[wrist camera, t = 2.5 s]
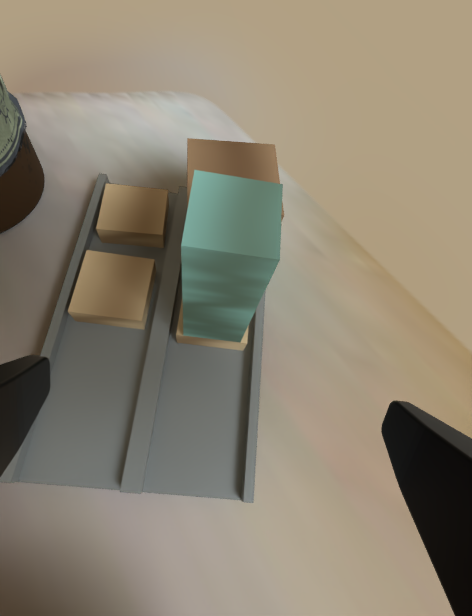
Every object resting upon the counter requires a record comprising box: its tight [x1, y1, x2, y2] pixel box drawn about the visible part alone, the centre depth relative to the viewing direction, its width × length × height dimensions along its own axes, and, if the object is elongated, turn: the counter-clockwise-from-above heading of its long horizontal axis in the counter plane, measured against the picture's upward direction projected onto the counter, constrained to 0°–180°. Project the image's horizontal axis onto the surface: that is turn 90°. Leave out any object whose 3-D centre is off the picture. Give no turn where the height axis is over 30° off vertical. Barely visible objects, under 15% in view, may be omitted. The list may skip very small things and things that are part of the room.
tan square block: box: [68, 250, 156, 330], centre depth 20 cm, size 4×4×2 cm
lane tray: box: [0, 173, 265, 503], centre depth 21 cm, size 12×19×2 cm, turn 175°
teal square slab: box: [176, 170, 283, 351], centre depth 18 cm, size 4×10×10 cm, turn 175°
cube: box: [187, 139, 284, 222], centre depth 20 cm, size 5×5×5 cm
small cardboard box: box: [96, 183, 169, 248], centre depth 23 cm, size 4×4×2 cm
